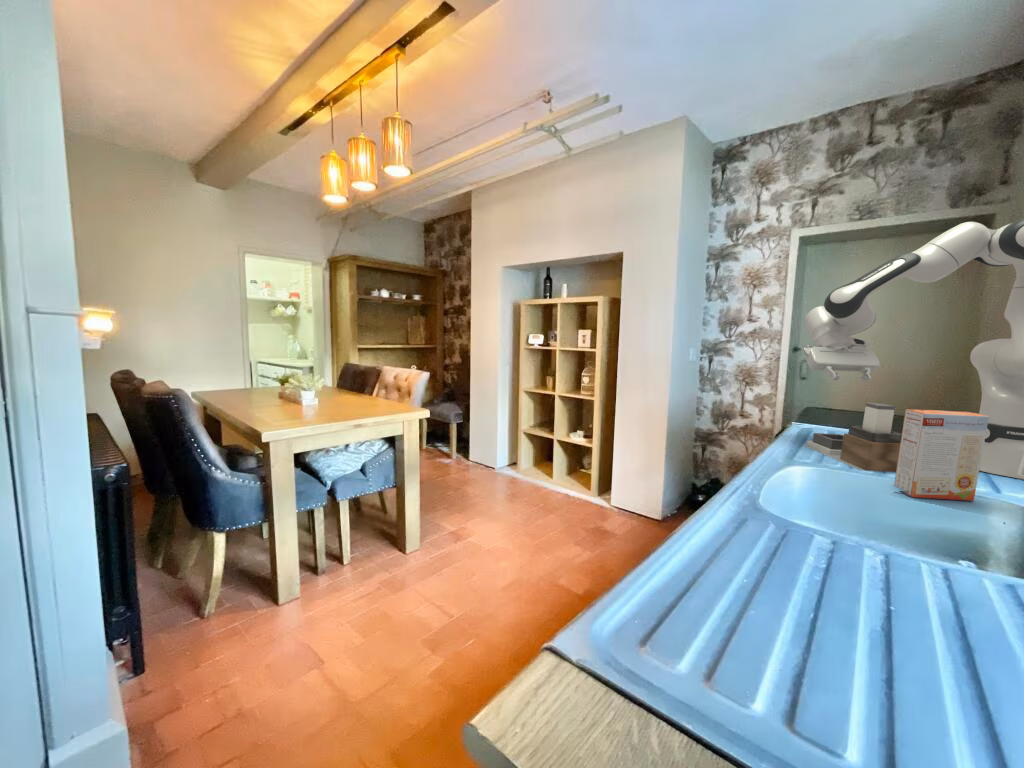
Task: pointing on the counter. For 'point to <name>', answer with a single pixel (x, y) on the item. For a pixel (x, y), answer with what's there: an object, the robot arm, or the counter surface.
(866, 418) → the plug
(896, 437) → the upper stand
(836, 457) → the console board
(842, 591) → the counter surface
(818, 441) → the lower jack
